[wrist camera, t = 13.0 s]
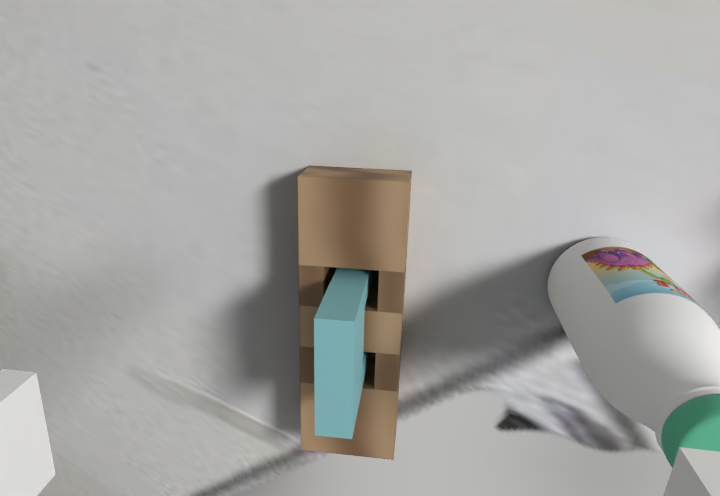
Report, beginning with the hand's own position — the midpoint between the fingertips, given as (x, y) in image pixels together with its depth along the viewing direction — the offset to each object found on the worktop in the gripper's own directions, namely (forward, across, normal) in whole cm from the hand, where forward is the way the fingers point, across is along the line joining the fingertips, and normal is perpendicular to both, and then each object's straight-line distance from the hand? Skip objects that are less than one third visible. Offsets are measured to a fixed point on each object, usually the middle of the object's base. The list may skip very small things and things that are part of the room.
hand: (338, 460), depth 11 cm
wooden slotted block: (+32, -3, -13) cm, 34 cm away
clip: (+32, -3, -13) cm, 34 cm away
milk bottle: (+32, +16, -8) cm, 37 cm away
